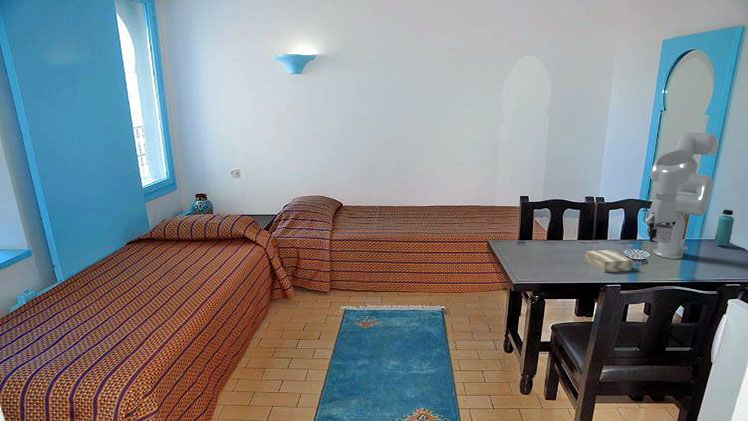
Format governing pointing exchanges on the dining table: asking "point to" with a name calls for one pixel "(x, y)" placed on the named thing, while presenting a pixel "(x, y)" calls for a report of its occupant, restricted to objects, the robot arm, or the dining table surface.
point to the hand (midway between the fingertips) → (659, 236)
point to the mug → (662, 233)
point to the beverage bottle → (724, 228)
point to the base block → (608, 260)
